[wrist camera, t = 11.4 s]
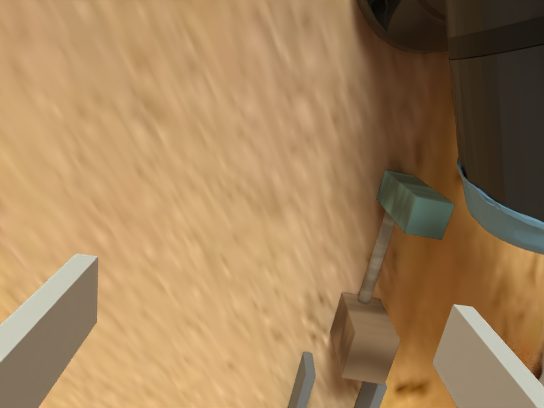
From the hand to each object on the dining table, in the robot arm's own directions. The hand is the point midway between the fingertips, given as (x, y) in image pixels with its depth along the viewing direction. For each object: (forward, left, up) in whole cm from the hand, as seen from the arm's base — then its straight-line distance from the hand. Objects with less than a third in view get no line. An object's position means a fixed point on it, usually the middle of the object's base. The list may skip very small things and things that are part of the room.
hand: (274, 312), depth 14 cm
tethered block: (+11, +15, -30) cm, 35 cm away
